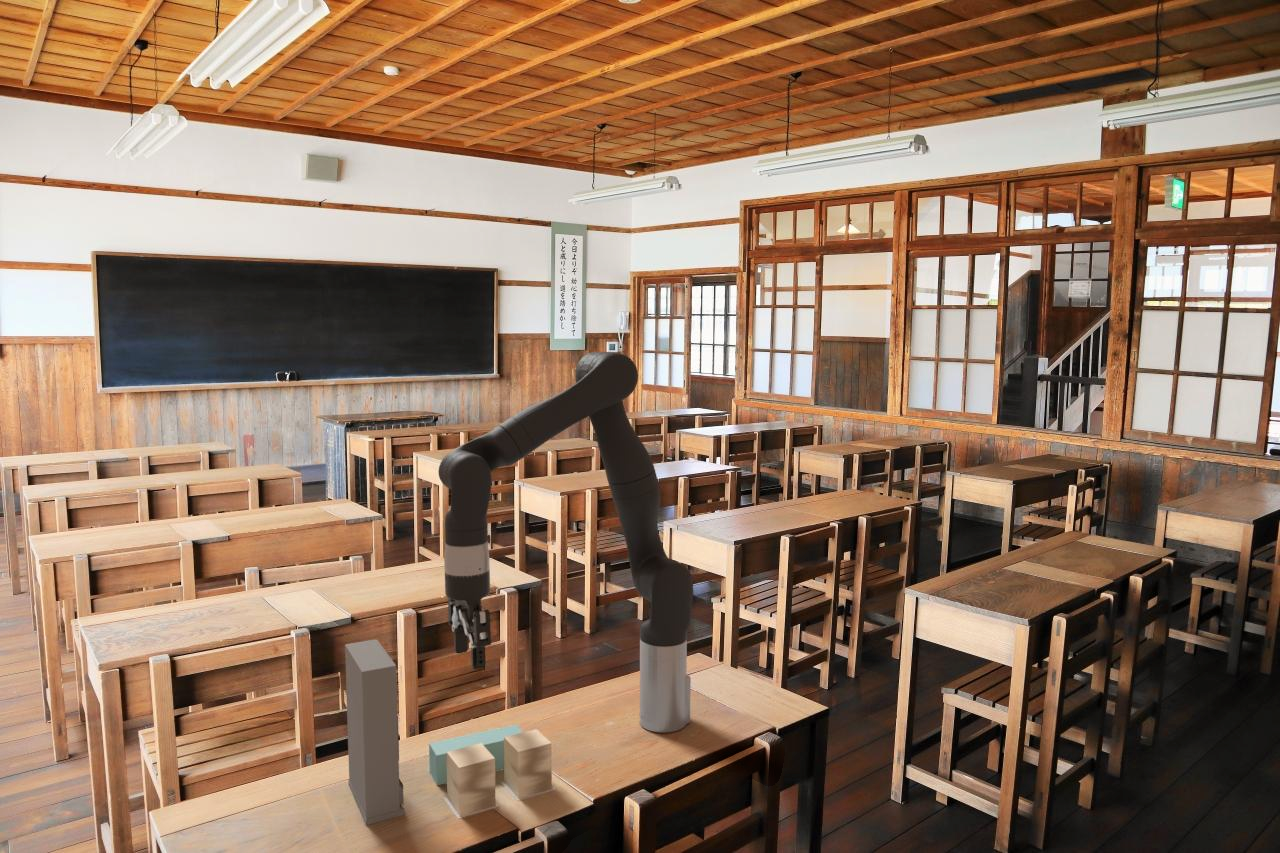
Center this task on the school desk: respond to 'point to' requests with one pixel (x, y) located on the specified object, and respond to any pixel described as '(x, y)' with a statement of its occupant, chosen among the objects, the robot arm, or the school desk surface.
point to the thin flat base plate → (496, 802)
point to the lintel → (488, 738)
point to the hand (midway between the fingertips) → (469, 659)
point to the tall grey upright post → (373, 731)
